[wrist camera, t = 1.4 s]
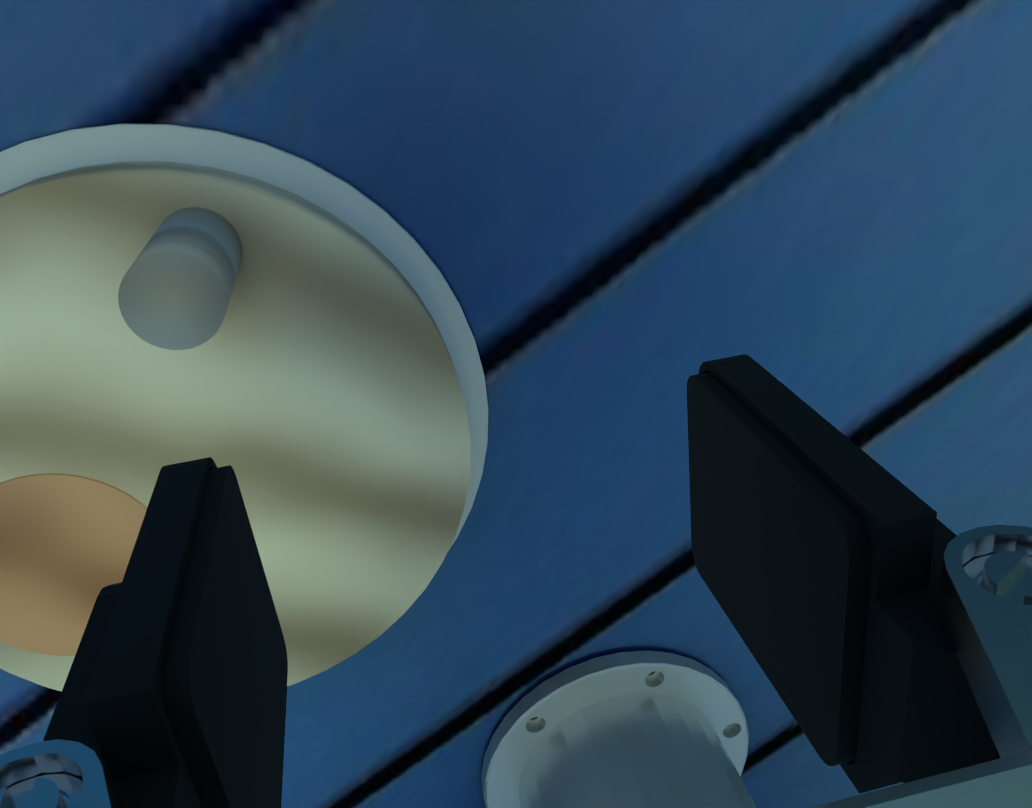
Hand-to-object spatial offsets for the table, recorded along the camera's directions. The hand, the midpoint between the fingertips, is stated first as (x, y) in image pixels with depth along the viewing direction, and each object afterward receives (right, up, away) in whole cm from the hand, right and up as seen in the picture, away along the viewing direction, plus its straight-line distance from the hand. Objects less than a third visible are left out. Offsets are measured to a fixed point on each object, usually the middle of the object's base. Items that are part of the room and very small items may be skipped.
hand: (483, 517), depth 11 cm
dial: (-11, 0, +19) cm, 22 cm away
